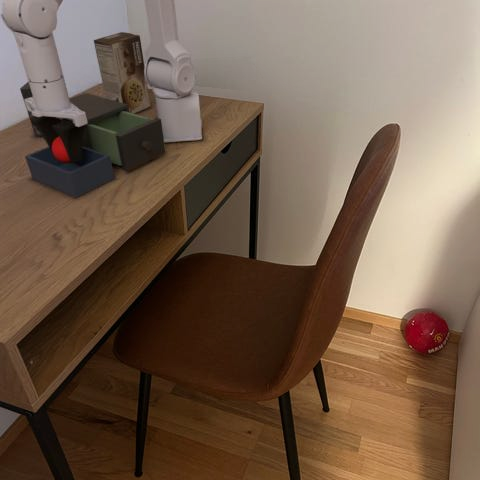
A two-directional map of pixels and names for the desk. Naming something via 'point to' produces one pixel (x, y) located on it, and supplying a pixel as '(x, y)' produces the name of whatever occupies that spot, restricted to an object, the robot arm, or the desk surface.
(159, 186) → the desk surface
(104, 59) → the coffee box
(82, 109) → the cabinet
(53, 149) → the ball
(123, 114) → the drawer
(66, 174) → the box
